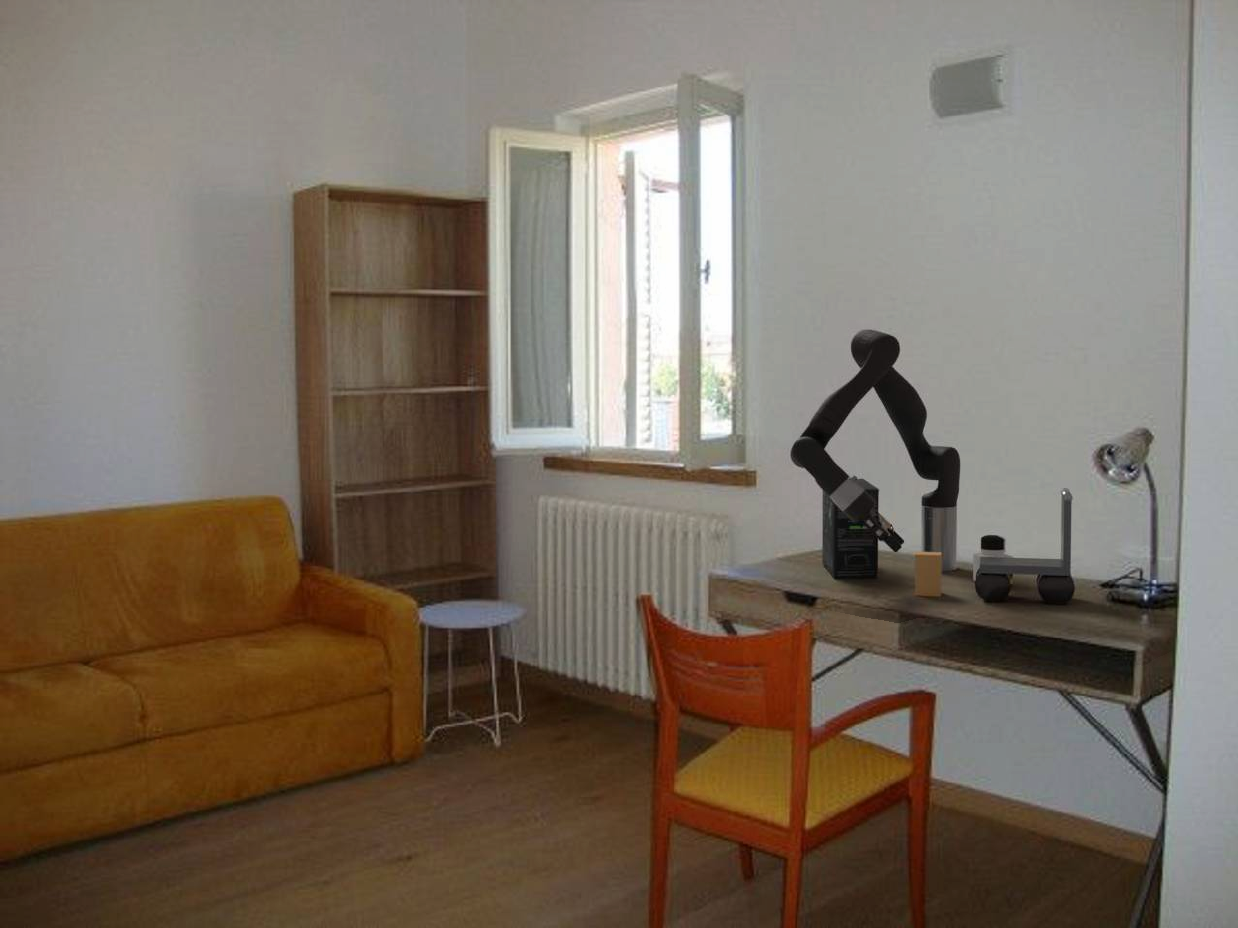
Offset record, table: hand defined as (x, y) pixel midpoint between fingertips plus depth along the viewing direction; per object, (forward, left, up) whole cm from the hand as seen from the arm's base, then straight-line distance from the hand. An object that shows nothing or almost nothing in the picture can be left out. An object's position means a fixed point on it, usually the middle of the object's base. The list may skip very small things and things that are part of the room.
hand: (900, 547), depth 300 cm
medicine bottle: (-18, +22, -12) cm, 30 cm away
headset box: (-27, -15, -12) cm, 33 cm away
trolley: (+2, +29, -11) cm, 31 cm away
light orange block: (0, +7, -11) cm, 13 cm away
